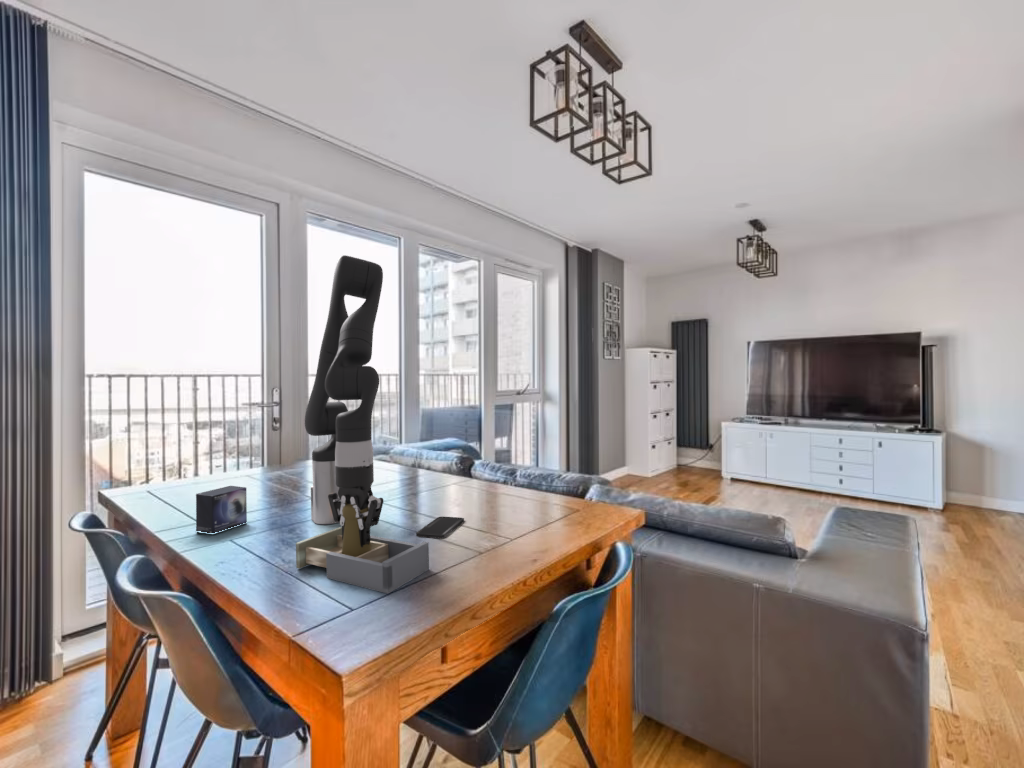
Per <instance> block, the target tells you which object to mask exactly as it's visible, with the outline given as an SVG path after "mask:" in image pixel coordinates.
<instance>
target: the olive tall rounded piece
mask: <svg viewBox="0 0 1024 768" xmlns="http://www.w3.org/2000/svg"><path fill="white" fill-rule="evenodd" d="M355 509H356V508H355ZM355 509H354V507H353V506H352V505H351V504H347V505H345V506H344V507H343V510H342V514H343V517H344V518H345V527H344V536H343V545H342V554H344V555H349V556H353V557H357V556H360V555H362V554H364V553H366V552H368V551H371V545H370V543H369V545H368V544H366V545H363V547H361V545H360V537H359V529H360V528H359V525H358V520H357V519H356V513H357V512H356V511H355ZM367 511H368V507H367V508H365V509H363V510H360V513H365V512H367ZM365 517H366V516H364V517H363V519H364V522H366V521H365Z"/></svg>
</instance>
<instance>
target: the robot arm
mask: <svg viewBox="0 0 1024 768" xmlns="http://www.w3.org/2000/svg"><path fill="white" fill-rule="evenodd" d="M383 279H384V271H383V267H382V266H381V265H380V264H379V263H376V262H373V261H369V260H366V259H361V258H359V257H354V256H351V255H343V254H342V255H340V257H338V259H337V262H336V264H335V269H334V274H333V279H332V288H331V295H330V302H329V308H328V315H327V320H326V324H325V328H324V332H323V338H322V340H321V345H320V349H319V350H320V351H319V356H318V362H317V368H316V374H315V378H314V382H313V385H312V390H311V393H310V396H309V399H308V402H307V406H306V410H305V415H304V429H305V431H306V433H307V434H308V435H309V436H314V437H318V436H319V437H320V436H321V437H323V436H330V438H329V440H328V441H327V442H326V443H325V442H324V444H322V445H320V446H318V447H316V448H314V449H313V450H312V453H311V461H312V462H311V463H312V468H311V469H312V486H310V514H311V516H310V517H311V519H310V520H311V521H313V523H314V524H317V525H331V524H338V523H339V525H340V527H342V540H343V536H344V527H345V518H344V517H343V514H342V510H343V507H344V506H345V505H347V504H351V505H352V506H353V507H354V509H355V508H356V509H355V511H356V512H357V513H356V519H357V520H358V525H359V528H360V529H359V537H360V545H361V547H363V545H366V544H368V545H369V543H370V535H371V527H374V526H376V525H378V524H379V521H380V518H381V513H382V508H383V505H384V498H383V497H379V498H378V497H376V496H375V495H374V494H373V491H372V485H373V483H374V482H375V481H374V475H375V474H374V473H375V472H374V449H373V448H374V447H373V440H372V417H373V416H372V415H373V409H374V404H375V401H376V398H377V397H376V396H377V394H378V391H379V386H380V375H379V373H378V371H377V370H376V369H375V368H374V367H373V366H369V365H368V363H370V361H371V360H372V355H373V341H374V339H373V338H374V337H373V336H374V328H375V322H376V318H377V313H378V309H379V304H380V298H381V294H382V287H383V281H384V280H383ZM345 296H351V297H355V298H360V299H363V300H364V302H363V303H362V304H361V306H360V307H358V308H357V309H356V310H355V311H354V312H352V313H351V314H350V315H349V314H348V311H347V308H346V303H345ZM329 399H332V400H334V401H329ZM352 400H353V401H358V400H359V401H361V403H360V405H359V406H358V407H357V408H355V409H353V410H352V409H351V410H349V409H348V408H347V405H346V404H345V403H344V402H342V401H352ZM367 507H368V511H367V512H365V513H360V510H363V509H365V508H367ZM364 516H366V517H365V521H366V522H364V519H363V517H364Z"/></svg>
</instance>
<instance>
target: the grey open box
mask: <svg viewBox="0 0 1024 768" xmlns="http://www.w3.org/2000/svg"><path fill="white" fill-rule="evenodd" d="M370 541H375V542H380V543H385V544H388V552H389V559H388V560H386V561H384V562H382V563H380V562H375V561H371V560H366V559H362V558H357V557H353V556H348V555H344V554H339V553H335V552H329V553H327V554H326V564H327V568H326V578H327V579H331V580H333V581H338V582H341V583H346V584H349V585H353V586H357V587H361V588H365V589H369V590H372V591H376V592H380V593H383V594H390V593H392V592H394V591H395V590H397V589H399V588H400V587H402V586H403V585H405V584H407V583H409V582H410V581H412V580H414V579H416V578H417V577H419V576H421V575H422V574H424V573H426V572H427V571H429V570H430V555H429V554H430V550H429V548H430V547H429V544H430V543H429V542H428V541H422V542H420V543H414V542H408V541H403V540H397V539H392V538H387V537H381V536H378V535H377V536H376V535H371V534H370Z"/></svg>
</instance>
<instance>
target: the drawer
mask: <svg viewBox="0 0 1024 768" xmlns="http://www.w3.org/2000/svg"><path fill="white" fill-rule="evenodd" d="M342 545H343V540H342V526H339V527H336V528H333V529H331V530H328V531H326V532H322V533H320V534H317V535H314V536H312V537H308V538H305V539H303V540H301V541H297V542H295V562H296V563H295V567H296V569H298V570H299V569H303V568H304V567H307V566H309V565H313V566H317V567H320V568H324V569H325V568H326V569H327V564H326V554H327V553H329V552H335V553H339V554H342ZM370 545H371V551H368V552H366V553H364V554H362V555H360V556H357V558H362V559H366V560H371V561H375V562H380V563H382V562H384V561H386V560H388V559H389V552H388V544H385V543H380V542H375V541H370ZM348 556H349V555H348Z"/></svg>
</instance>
